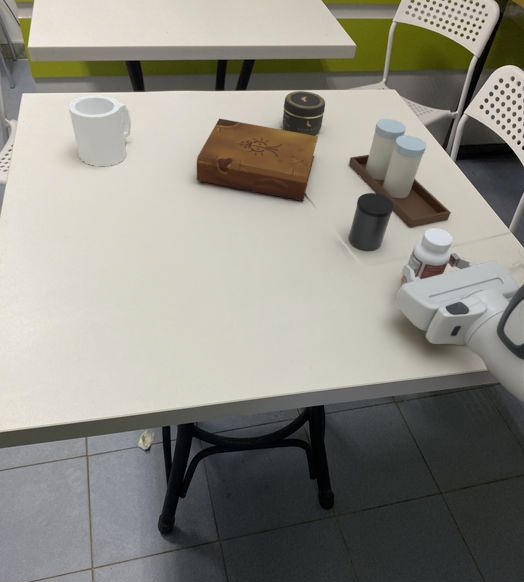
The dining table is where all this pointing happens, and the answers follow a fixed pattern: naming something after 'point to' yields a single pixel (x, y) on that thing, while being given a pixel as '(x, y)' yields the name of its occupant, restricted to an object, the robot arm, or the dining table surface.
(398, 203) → the tray
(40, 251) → the dining table surface
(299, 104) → the jar
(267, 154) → the diary
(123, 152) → the mug
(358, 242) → the grey tin
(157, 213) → the dining table surface
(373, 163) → the white bottle
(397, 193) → the white bottle
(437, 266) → the pill bottle
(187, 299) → the dining table surface
